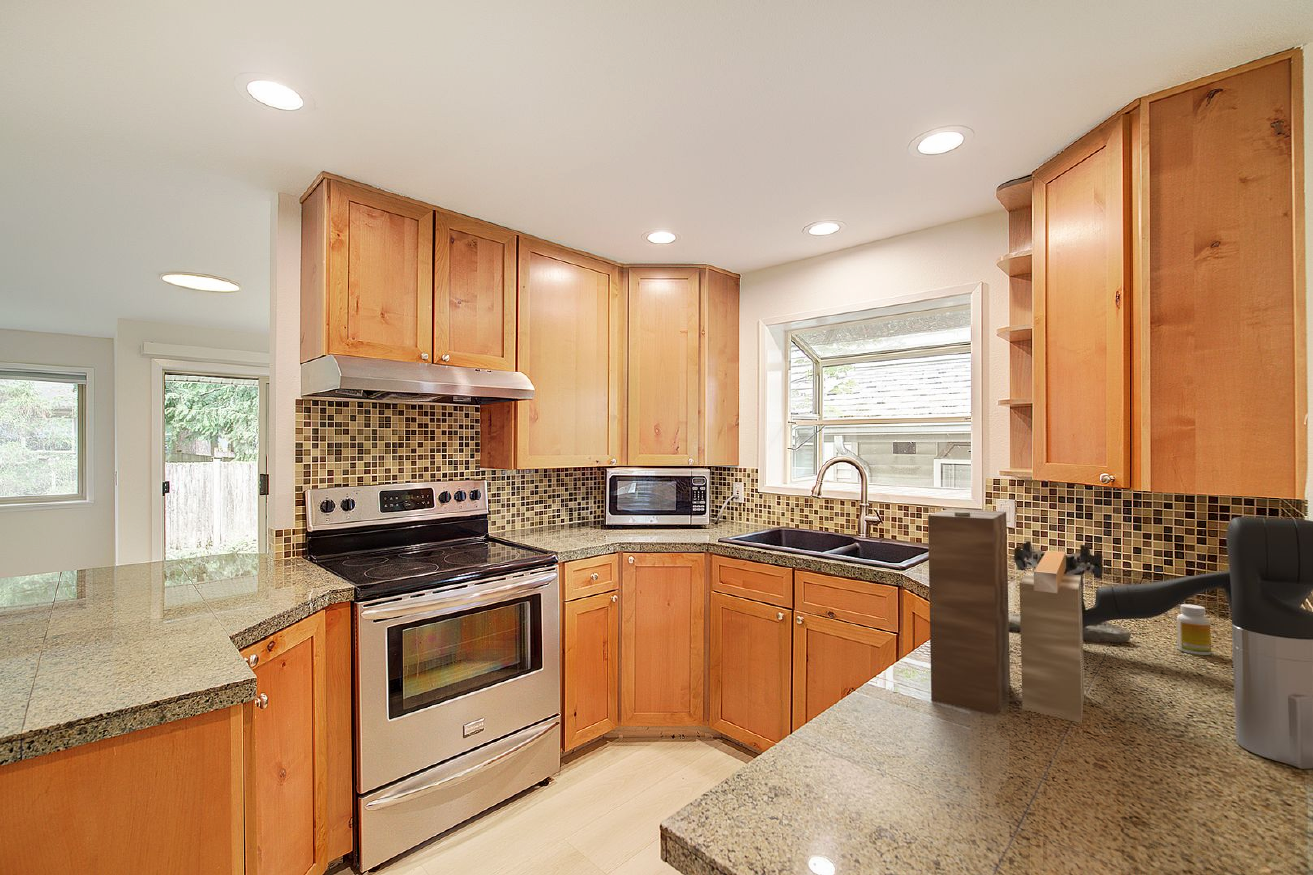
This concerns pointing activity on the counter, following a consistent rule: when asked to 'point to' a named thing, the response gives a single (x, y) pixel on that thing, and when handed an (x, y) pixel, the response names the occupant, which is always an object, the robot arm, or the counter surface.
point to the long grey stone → (1087, 631)
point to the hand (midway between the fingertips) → (1054, 547)
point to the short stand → (1052, 648)
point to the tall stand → (969, 609)
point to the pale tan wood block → (1050, 572)
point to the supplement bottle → (1193, 630)
